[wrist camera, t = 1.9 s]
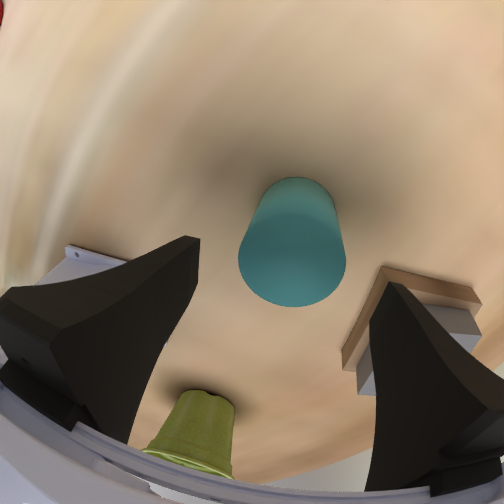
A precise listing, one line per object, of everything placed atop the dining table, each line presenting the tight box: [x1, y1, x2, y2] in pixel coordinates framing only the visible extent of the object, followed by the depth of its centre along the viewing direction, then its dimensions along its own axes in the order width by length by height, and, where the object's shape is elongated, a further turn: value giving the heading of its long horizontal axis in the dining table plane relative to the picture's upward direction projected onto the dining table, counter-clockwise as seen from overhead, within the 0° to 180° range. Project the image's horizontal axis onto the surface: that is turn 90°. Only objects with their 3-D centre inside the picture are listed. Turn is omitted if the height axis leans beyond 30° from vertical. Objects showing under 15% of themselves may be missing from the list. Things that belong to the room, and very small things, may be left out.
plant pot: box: [141, 390, 235, 480], centre depth 25 cm, size 9×9×9 cm
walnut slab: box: [342, 267, 482, 372], centre depth 18 cm, size 8×8×2 cm
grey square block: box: [356, 304, 482, 396], centre depth 16 cm, size 6×6×2 cm
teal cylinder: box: [238, 177, 346, 307], centre depth 14 cm, size 4×4×6 cm
